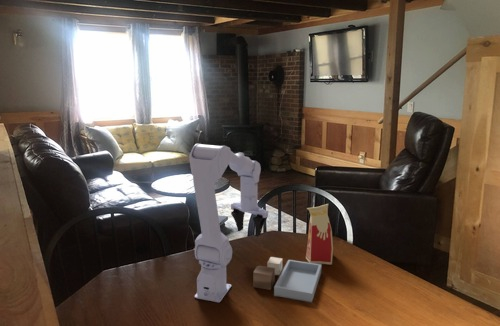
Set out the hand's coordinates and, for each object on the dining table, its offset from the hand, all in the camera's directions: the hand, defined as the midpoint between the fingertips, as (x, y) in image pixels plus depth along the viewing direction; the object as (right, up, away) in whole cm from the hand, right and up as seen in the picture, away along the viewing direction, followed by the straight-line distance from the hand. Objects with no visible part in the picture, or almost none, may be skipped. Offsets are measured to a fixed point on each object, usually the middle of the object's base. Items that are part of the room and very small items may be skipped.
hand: (249, 232), depth 133 cm
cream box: (+8, -11, -7) cm, 16 cm away
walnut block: (+5, -13, -15) cm, 20 cm away
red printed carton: (+24, -9, +2) cm, 26 cm away
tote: (+15, -13, -14) cm, 25 cm away
